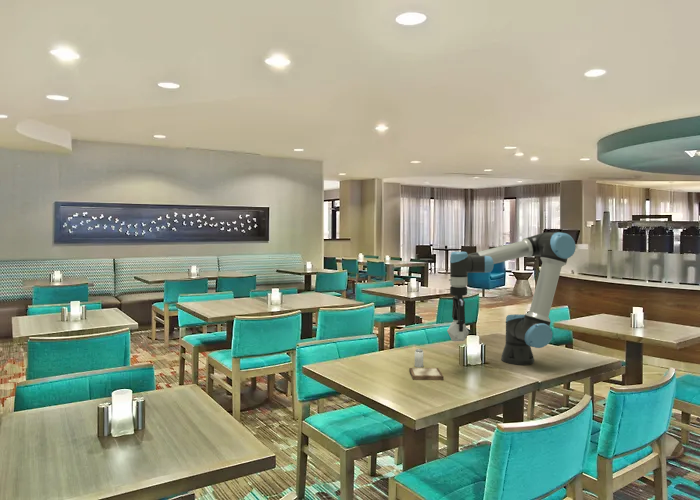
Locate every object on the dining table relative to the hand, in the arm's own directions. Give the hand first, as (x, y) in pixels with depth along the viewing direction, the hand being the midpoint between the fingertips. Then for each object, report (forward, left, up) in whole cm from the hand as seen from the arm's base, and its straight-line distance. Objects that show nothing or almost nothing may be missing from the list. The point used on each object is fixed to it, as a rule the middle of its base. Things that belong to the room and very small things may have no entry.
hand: (458, 336), depth 227 cm
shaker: (+16, -9, -16) cm, 25 cm away
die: (0, 0, -2) cm, 2 cm away
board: (+15, +6, -16) cm, 23 cm away
